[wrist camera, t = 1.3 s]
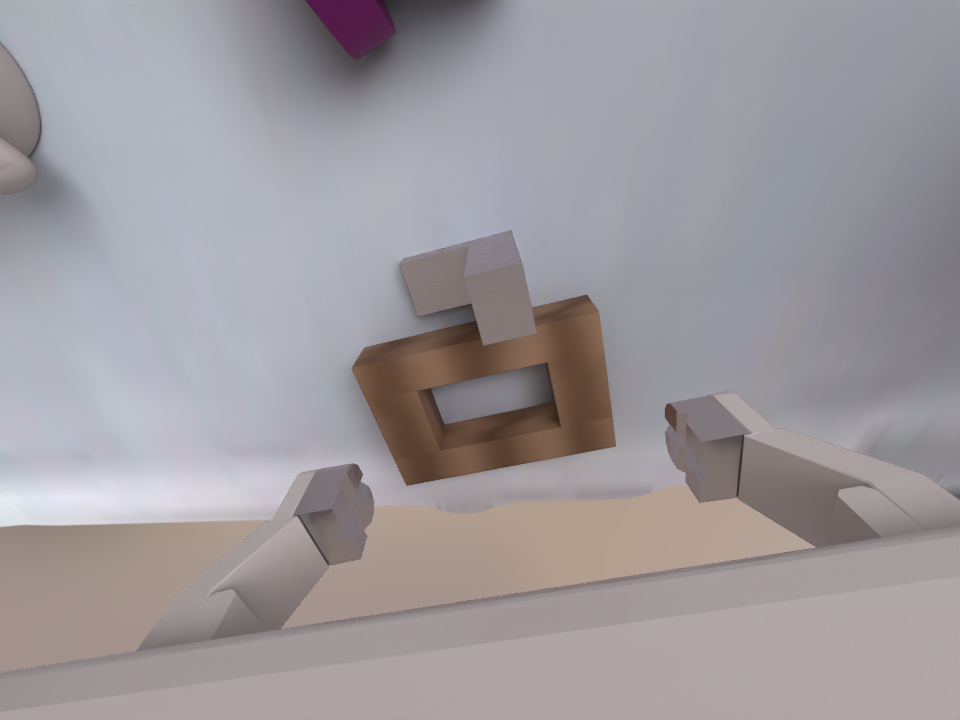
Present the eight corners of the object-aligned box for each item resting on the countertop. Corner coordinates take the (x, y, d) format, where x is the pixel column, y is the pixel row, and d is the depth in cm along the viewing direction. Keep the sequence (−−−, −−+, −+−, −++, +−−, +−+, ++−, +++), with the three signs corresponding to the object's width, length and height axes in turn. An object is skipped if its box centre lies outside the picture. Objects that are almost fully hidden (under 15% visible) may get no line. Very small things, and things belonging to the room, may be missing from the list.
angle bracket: (511, 230, 28) (521, 262, 20) (522, 284, 29) (537, 333, 21) (403, 258, 29) (371, 300, 21) (421, 309, 30) (398, 365, 22)
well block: (587, 294, 30) (598, 311, 27) (604, 420, 35) (615, 446, 32) (364, 347, 32) (351, 368, 29) (413, 458, 37) (406, 485, 34)
